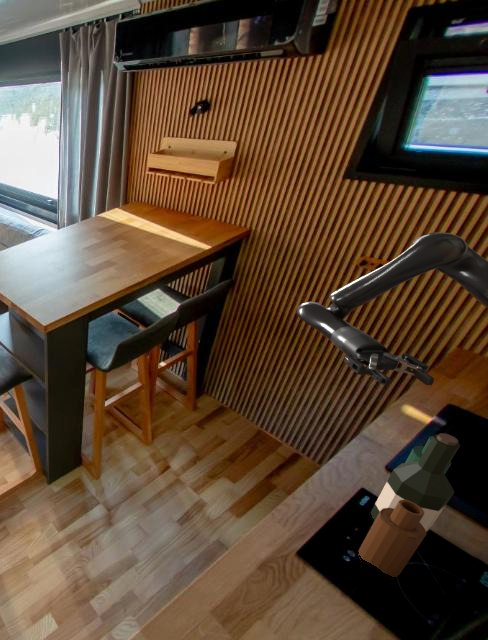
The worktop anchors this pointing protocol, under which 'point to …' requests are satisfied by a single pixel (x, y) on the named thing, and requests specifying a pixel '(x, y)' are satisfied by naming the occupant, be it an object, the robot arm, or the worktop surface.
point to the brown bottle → (394, 537)
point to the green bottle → (420, 454)
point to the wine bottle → (422, 481)
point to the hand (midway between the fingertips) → (409, 382)
